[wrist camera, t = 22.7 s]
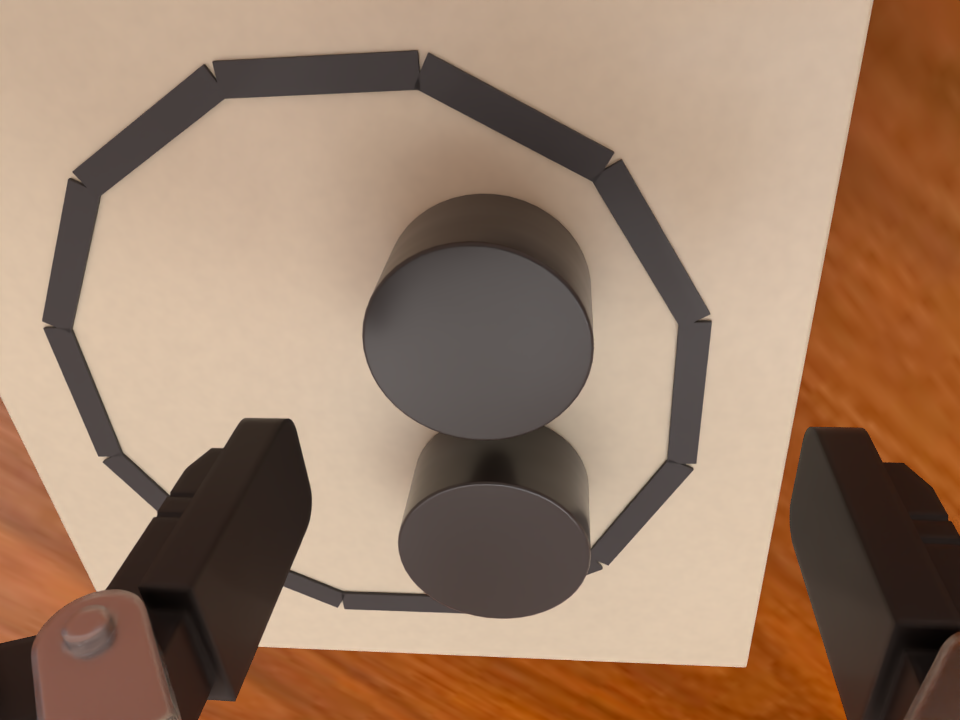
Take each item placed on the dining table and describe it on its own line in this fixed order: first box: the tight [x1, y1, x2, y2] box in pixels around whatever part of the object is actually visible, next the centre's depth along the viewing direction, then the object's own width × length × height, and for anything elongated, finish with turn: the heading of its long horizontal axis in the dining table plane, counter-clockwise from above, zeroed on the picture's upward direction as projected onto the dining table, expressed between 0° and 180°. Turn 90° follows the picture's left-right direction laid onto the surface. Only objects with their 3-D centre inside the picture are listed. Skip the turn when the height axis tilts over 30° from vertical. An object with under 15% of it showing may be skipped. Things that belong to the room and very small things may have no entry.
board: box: [0, 0, 873, 667], centre depth 19 cm, size 20×20×1 cm
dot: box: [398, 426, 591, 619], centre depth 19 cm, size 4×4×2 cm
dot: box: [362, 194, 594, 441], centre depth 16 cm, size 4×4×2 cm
